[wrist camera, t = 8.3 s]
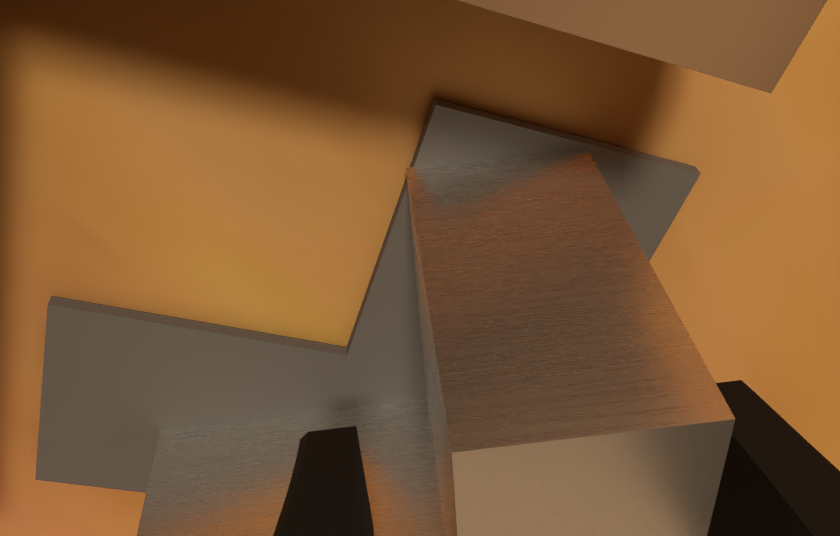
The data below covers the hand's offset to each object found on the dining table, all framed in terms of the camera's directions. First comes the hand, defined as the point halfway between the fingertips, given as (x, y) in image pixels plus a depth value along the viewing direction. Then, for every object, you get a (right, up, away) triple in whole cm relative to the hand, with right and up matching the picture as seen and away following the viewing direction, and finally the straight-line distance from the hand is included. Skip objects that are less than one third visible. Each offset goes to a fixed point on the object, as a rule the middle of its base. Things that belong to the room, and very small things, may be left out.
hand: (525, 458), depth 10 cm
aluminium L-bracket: (-2, +1, +3) cm, 4 cm away
